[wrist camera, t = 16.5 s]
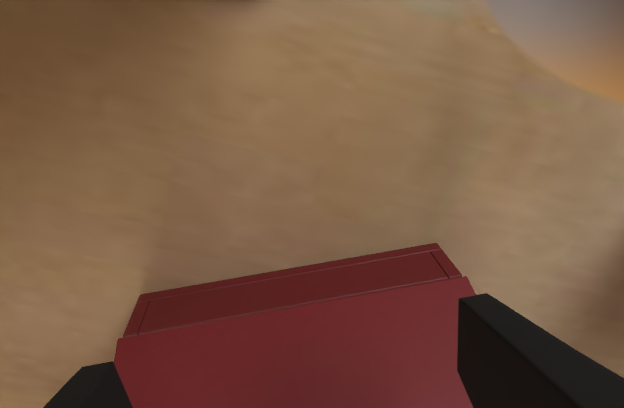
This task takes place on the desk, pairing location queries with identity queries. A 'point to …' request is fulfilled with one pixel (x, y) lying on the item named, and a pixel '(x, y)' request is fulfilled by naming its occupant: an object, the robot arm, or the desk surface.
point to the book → (289, 288)
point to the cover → (308, 356)
